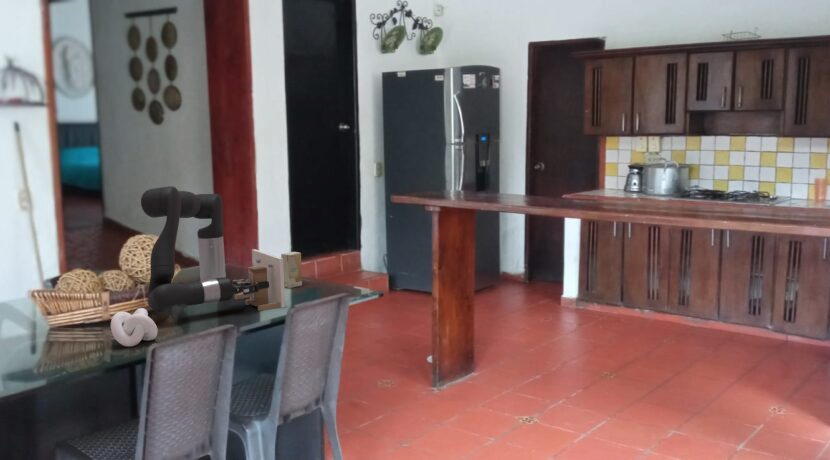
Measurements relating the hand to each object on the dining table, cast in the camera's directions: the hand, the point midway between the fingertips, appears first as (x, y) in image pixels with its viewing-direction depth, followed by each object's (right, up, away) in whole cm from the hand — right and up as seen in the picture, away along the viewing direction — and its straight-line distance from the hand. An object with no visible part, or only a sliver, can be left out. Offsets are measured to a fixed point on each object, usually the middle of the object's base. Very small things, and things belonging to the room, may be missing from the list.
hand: (265, 283), depth 252 cm
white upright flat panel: (-3, -7, +5) cm, 9 cm away
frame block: (-2, -7, 0) cm, 7 cm away
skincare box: (+4, -3, +28) cm, 29 cm away
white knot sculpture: (-29, -14, -36) cm, 49 cm away
